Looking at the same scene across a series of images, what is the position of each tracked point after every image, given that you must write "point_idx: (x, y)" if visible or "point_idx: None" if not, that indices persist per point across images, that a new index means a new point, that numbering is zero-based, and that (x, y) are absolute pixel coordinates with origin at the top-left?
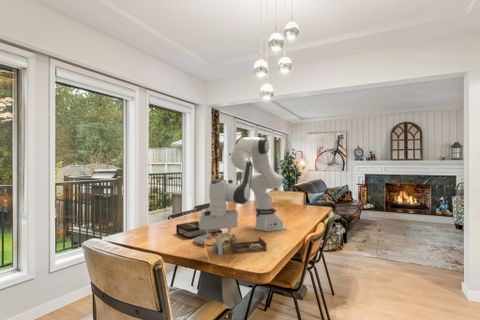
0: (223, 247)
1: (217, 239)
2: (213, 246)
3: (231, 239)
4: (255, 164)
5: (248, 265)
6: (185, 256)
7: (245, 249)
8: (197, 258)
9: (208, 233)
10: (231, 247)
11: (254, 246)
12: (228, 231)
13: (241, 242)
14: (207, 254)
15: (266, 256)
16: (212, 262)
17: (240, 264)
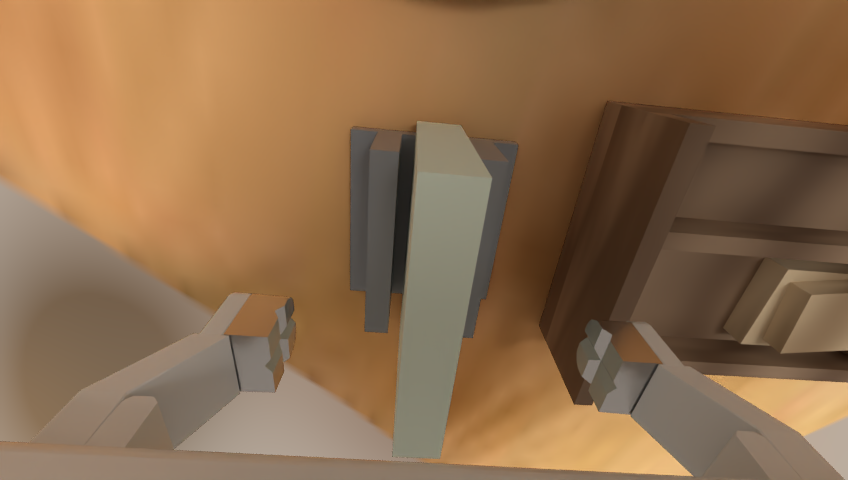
0: (472, 312)
1: (404, 358)
2: (369, 192)
3: (699, 159)
4: None
5: None
6: (57, 195)
7: None
8: (203, 285)
9: (198, 426)
10: (594, 223)
11: (797, 349)
12: (682, 415)
13: (812, 143)
14: (303, 212)
15: (752, 396)
16: (332, 389)
17: (506, 455)
